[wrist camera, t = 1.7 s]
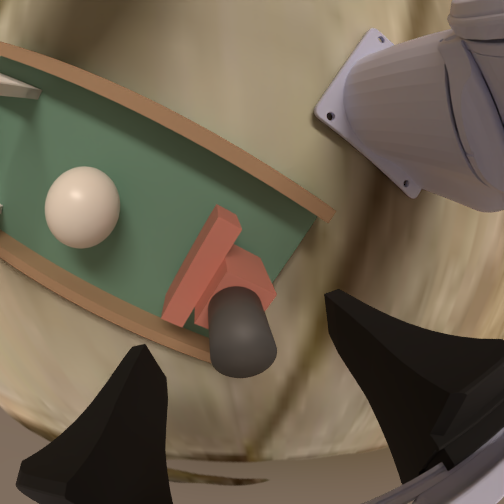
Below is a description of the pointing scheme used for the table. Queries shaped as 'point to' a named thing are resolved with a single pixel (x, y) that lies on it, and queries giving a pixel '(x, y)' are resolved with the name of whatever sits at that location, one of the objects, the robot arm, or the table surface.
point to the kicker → (225, 298)
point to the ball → (82, 207)
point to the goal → (17, 91)
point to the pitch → (131, 195)
